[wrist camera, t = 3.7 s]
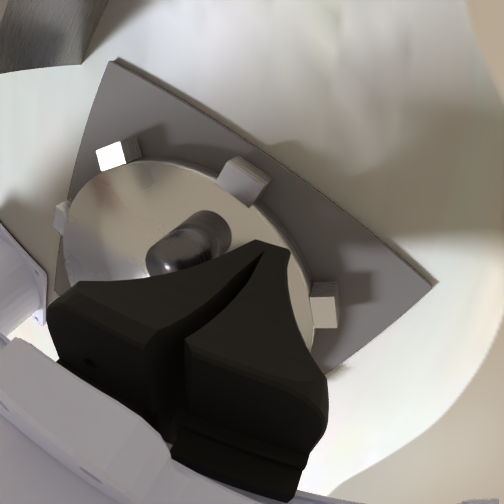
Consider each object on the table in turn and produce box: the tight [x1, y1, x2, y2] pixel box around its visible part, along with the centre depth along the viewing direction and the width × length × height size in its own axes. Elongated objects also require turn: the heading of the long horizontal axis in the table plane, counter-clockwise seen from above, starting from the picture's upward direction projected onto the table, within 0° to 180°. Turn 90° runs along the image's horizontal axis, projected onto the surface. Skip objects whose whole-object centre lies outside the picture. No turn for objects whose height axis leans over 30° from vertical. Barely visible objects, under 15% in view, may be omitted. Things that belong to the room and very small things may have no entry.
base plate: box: [54, 61, 432, 375], centre depth 17 cm, size 18×18×1 cm
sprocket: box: [53, 137, 340, 352], centre depth 15 cm, size 17×17×4 cm
